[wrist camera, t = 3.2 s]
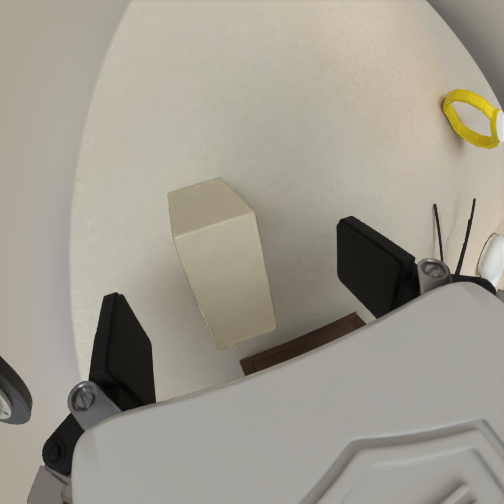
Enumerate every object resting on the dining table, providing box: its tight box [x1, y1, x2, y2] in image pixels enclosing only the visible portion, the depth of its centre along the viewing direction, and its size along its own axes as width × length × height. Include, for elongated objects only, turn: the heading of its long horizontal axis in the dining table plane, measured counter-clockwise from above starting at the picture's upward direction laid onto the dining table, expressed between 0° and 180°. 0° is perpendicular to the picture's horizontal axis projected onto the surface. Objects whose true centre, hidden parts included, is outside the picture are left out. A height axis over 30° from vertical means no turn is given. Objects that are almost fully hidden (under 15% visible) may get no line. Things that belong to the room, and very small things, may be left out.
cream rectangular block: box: [168, 178, 277, 350], centre depth 13 cm, size 3×6×6 cm, turn 11°
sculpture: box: [478, 234, 504, 288], centre depth 30 cm, size 12×15×8 cm
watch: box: [442, 89, 504, 149], centre depth 15 cm, size 6×3×6 cm, turn 55°
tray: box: [240, 312, 367, 376], centre depth 30 cm, size 11×32×4 cm, turn 12°
